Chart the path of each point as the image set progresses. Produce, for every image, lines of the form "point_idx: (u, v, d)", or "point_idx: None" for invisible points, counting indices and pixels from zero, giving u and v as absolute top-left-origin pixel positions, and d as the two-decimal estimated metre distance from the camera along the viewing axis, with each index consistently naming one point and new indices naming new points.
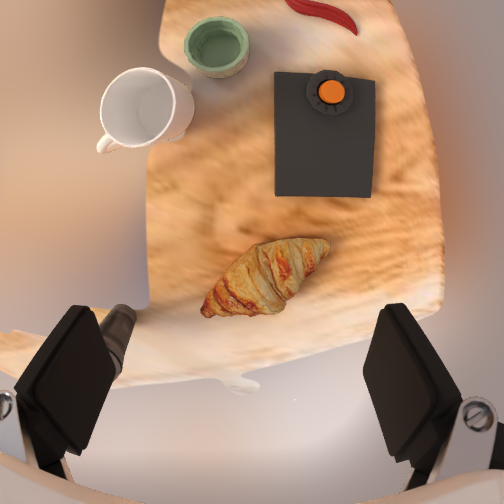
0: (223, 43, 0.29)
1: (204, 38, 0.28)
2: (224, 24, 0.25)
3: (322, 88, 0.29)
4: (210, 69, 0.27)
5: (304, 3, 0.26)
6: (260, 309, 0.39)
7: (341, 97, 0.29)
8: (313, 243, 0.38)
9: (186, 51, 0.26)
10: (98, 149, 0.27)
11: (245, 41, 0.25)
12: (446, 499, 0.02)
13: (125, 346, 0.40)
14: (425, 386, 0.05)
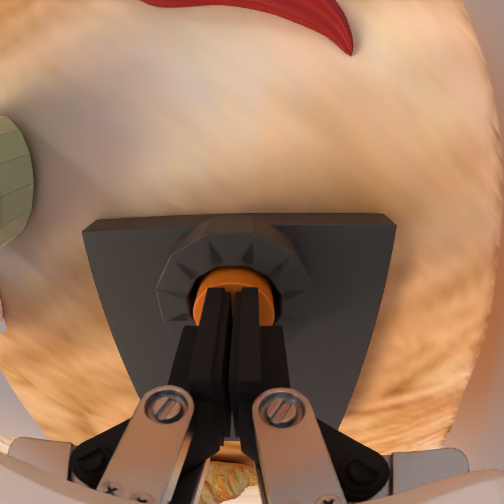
0: None
1: None
2: None
3: (196, 310, 0.10)
4: None
5: None
6: None
7: None
8: (230, 481, 0.19)
9: None
10: None
11: None
12: (446, 499, 0.02)
13: None
14: (229, 364, 0.06)
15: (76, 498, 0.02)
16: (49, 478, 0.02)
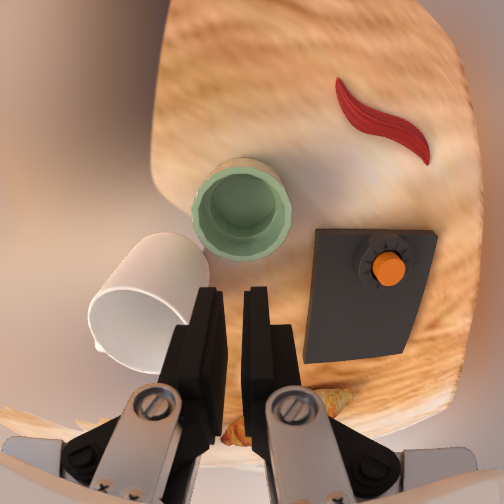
0: (247, 183, 0.24)
1: None
2: None
3: (379, 270, 0.24)
4: (234, 258, 0.22)
5: (370, 119, 0.21)
6: None
7: (399, 278, 0.24)
8: (337, 399, 0.33)
9: (195, 226, 0.21)
10: (98, 350, 0.22)
11: (287, 216, 0.20)
12: (446, 499, 0.02)
13: None
14: (241, 363, 0.06)
15: (76, 498, 0.02)
16: (49, 478, 0.02)
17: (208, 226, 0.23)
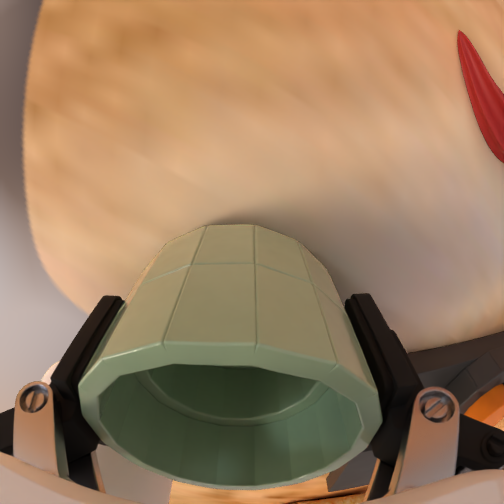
0: None
1: None
2: None
3: None
4: (216, 487, 0.07)
5: None
6: None
7: (498, 420, 0.09)
8: None
9: (109, 444, 0.06)
10: None
11: (363, 440, 0.05)
12: (446, 499, 0.02)
13: None
14: (380, 373, 0.06)
15: (76, 498, 0.02)
16: (49, 478, 0.02)
17: (149, 409, 0.08)
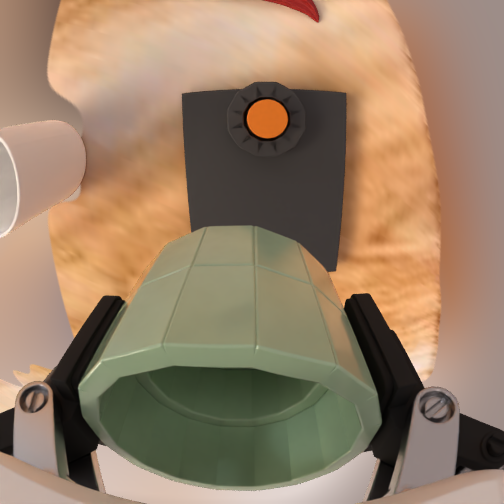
0: None
1: None
2: None
3: (248, 115, 0.19)
4: (216, 488, 0.07)
5: None
6: None
7: (281, 127, 0.19)
8: None
9: (109, 444, 0.06)
10: None
11: (362, 441, 0.05)
12: (446, 499, 0.02)
13: None
14: (380, 373, 0.06)
15: (76, 498, 0.02)
16: (49, 478, 0.02)
17: (149, 410, 0.08)
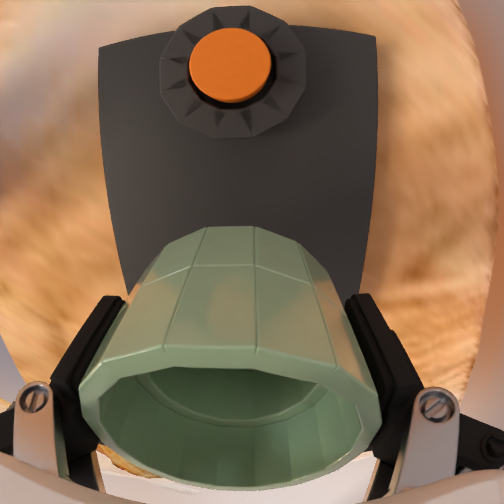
0: None
1: None
2: None
3: (192, 59, 0.08)
4: (216, 488, 0.07)
5: None
6: None
7: (258, 78, 0.09)
8: None
9: (109, 445, 0.06)
10: None
11: (362, 441, 0.05)
12: (446, 499, 0.02)
13: None
14: (380, 373, 0.06)
15: (76, 498, 0.02)
16: (49, 478, 0.02)
17: (150, 410, 0.08)
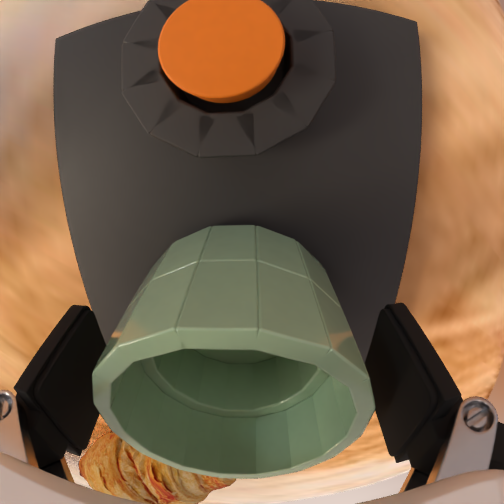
0: None
1: None
2: None
3: (163, 37, 0.05)
4: (219, 476, 0.07)
5: None
6: None
7: (266, 64, 0.05)
8: None
9: (117, 432, 0.06)
10: None
11: (357, 426, 0.06)
12: (446, 499, 0.02)
13: None
14: (425, 386, 0.05)
15: (76, 498, 0.02)
16: (49, 478, 0.02)
17: (156, 400, 0.08)
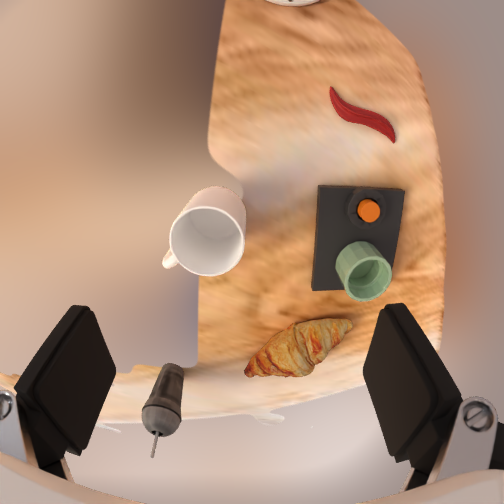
0: None
1: None
2: None
3: (362, 210, 0.36)
4: (361, 300, 0.39)
5: (351, 112, 0.33)
6: (296, 374, 0.46)
7: (376, 217, 0.36)
8: (340, 325, 0.46)
9: (345, 285, 0.38)
10: (165, 267, 0.35)
11: (389, 279, 0.37)
12: (446, 499, 0.02)
13: (180, 402, 0.48)
14: (425, 386, 0.05)
15: (76, 498, 0.02)
16: (49, 478, 0.02)
17: None
